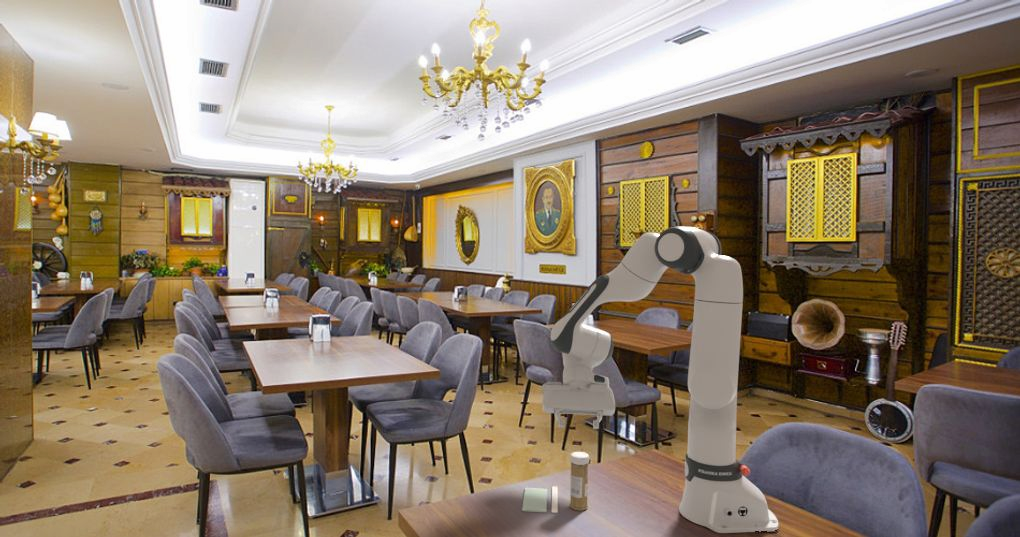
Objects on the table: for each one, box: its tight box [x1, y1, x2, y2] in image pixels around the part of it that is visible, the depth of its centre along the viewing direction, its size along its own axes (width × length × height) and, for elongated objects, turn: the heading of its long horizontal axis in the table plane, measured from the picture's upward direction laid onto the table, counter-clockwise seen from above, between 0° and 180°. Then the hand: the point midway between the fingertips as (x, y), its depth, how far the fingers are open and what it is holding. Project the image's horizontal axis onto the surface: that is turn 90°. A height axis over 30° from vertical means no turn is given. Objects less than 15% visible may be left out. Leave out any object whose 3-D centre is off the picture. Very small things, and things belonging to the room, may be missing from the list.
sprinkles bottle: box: [569, 451, 590, 512], centre depth 139 cm, size 5×5×13 cm
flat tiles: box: [521, 485, 559, 514], centre depth 143 cm, size 9×15×1 cm, turn 175°
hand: (578, 427), depth 150 cm, fingers open, 8 cm apart
